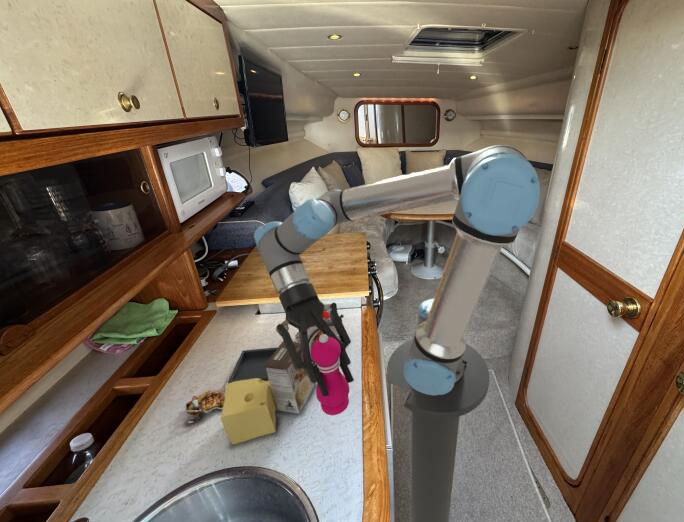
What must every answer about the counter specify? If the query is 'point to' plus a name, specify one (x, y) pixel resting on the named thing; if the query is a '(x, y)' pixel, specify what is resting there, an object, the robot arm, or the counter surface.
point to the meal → (318, 333)
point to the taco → (205, 404)
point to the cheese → (248, 410)
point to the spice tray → (252, 365)
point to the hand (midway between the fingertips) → (338, 388)
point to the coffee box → (288, 380)
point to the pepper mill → (330, 375)
